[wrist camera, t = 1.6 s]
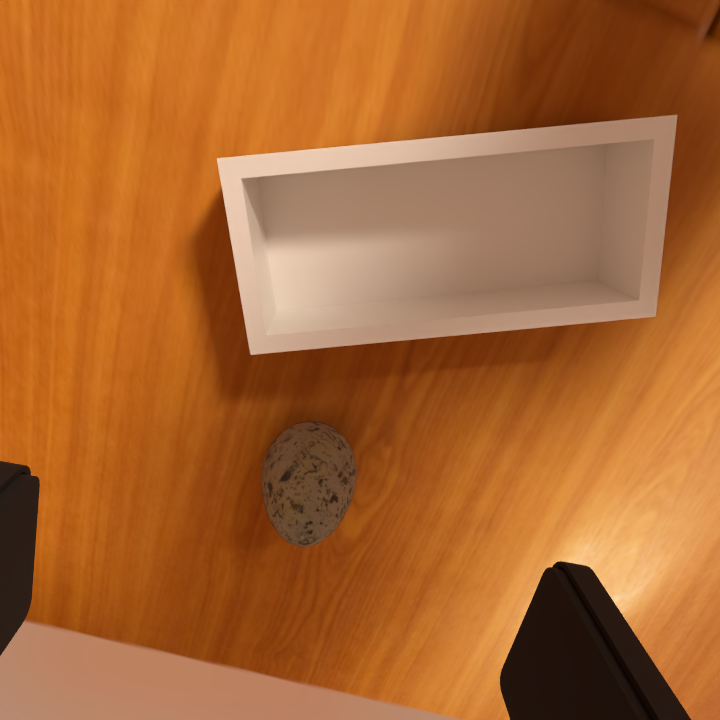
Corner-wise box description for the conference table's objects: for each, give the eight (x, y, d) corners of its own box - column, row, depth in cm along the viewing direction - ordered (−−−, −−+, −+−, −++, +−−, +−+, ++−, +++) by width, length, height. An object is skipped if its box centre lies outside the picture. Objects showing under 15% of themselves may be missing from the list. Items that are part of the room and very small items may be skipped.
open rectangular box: (617, 122, 31) (677, 114, 26) (605, 291, 35) (655, 316, 29) (239, 158, 31) (216, 158, 26) (265, 323, 35) (250, 354, 29)
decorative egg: (365, 416, 37) (373, 502, 28) (341, 487, 39) (341, 590, 30) (281, 394, 37) (260, 475, 27) (261, 468, 39) (235, 567, 29)
